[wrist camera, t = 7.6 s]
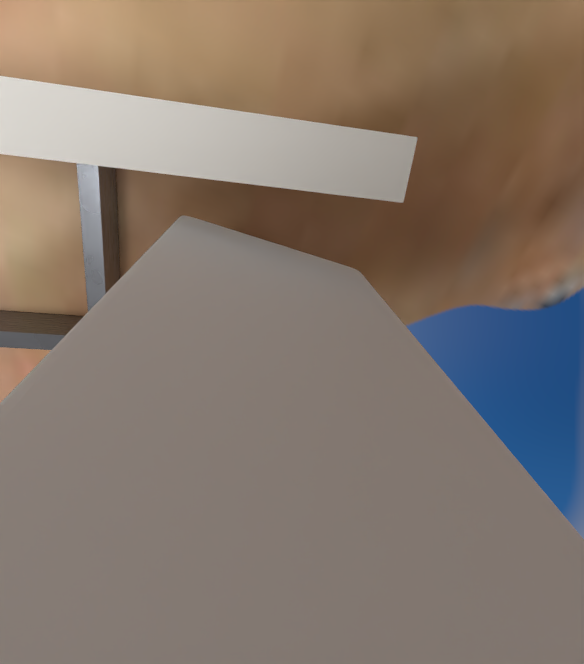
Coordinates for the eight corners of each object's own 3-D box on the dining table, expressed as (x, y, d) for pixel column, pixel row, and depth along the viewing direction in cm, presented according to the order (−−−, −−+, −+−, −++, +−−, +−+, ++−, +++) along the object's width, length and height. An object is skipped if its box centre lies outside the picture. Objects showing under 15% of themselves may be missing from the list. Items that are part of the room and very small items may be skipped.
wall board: (338, 144, 24) (417, 137, 13) (332, 180, 25) (403, 202, 14) (-177, 72, 20) (-682, -26, 9) (-164, 117, 21) (-615, 79, 10)
